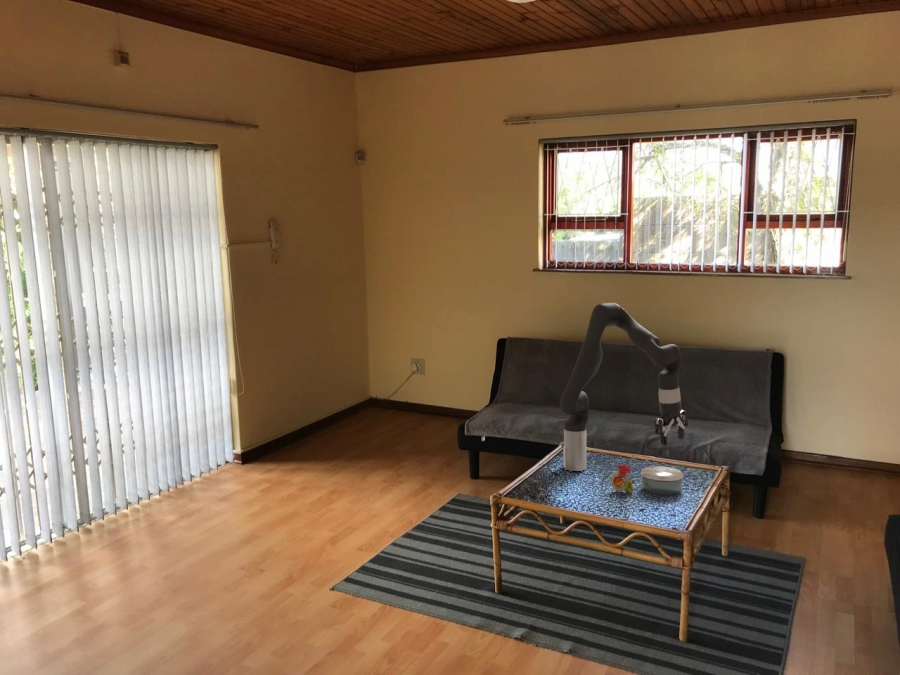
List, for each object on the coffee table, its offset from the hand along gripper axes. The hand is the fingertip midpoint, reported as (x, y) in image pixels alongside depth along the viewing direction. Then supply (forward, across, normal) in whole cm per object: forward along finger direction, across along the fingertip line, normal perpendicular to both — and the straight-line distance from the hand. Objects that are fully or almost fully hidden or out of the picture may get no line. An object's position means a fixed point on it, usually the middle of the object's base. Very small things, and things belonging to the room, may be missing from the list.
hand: (672, 441), depth 264 cm
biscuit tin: (+22, -2, -9) cm, 24 cm away
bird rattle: (+21, +12, -16) cm, 29 cm away
